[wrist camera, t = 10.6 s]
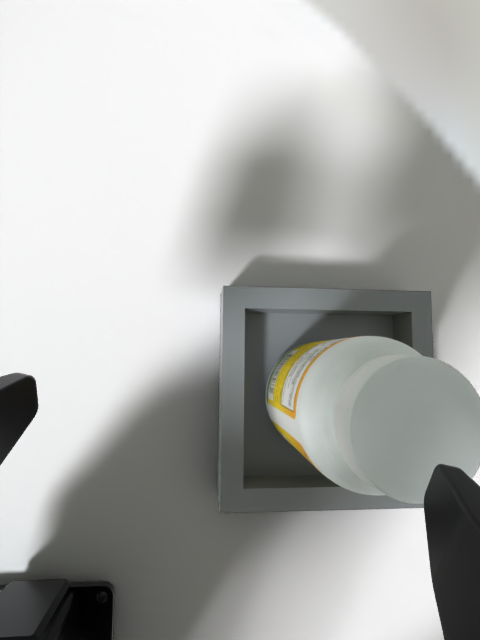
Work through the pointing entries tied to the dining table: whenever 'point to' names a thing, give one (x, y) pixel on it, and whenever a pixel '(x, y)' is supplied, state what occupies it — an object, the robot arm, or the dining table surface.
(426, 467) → the supplement bottle
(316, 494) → the tray
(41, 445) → the dining table surface
